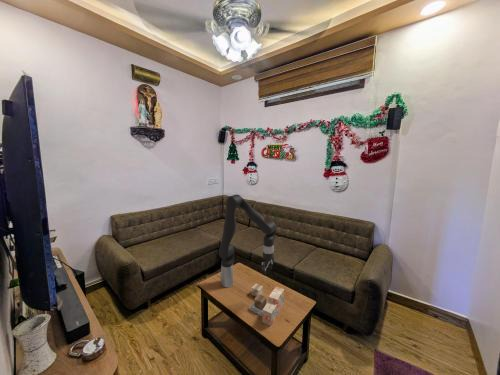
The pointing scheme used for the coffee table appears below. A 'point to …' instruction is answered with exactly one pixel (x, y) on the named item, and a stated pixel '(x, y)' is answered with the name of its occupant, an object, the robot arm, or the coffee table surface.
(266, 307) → the stack of blocks
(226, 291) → the coffee table surface
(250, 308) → the build board
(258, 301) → the walnut block
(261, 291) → the maple block
